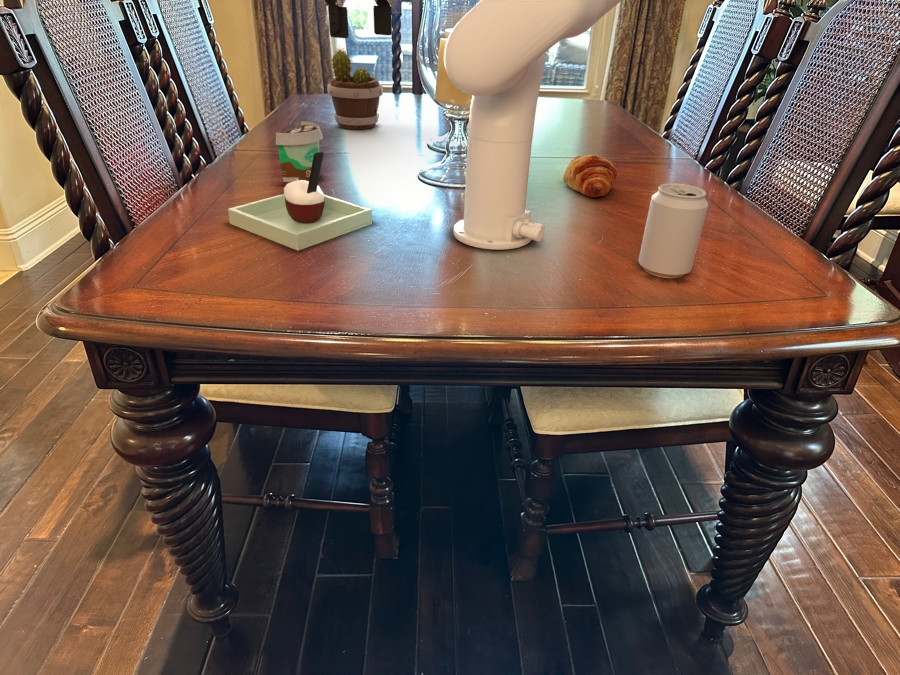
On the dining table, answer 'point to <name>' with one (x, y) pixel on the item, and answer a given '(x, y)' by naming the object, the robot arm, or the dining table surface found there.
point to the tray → (281, 228)
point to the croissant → (590, 175)
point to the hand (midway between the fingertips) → (362, 36)
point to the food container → (298, 151)
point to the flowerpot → (353, 94)
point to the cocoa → (306, 195)
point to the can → (673, 230)
